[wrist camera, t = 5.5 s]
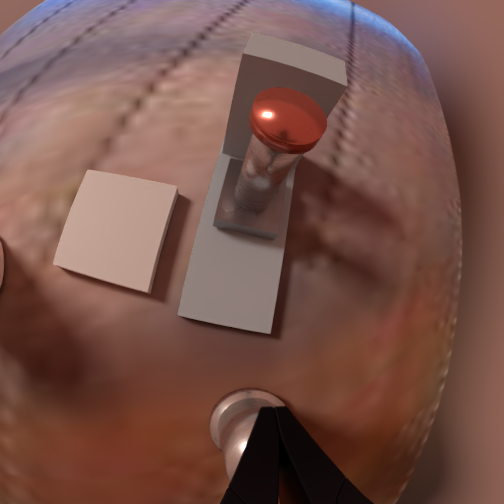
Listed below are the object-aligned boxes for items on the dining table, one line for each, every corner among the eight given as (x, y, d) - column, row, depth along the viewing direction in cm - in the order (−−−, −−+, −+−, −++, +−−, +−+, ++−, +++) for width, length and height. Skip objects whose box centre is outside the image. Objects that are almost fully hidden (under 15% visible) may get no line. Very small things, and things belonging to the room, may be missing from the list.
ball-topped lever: (272, 240, 20) (336, 170, 10) (212, 226, 19) (229, 139, 10) (282, 181, 21) (335, 95, 12) (228, 167, 20) (252, 68, 11)
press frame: (266, 333, 19) (344, 341, 9) (56, 279, 17) (-38, 237, 6) (294, 151, 24) (347, 62, 13) (123, 115, 21) (104, 22, 11)
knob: (296, 436, 17) (336, 475, 11) (227, 463, 16) (242, 515, 9) (271, 376, 18) (308, 400, 12) (197, 403, 17) (197, 443, 10)
